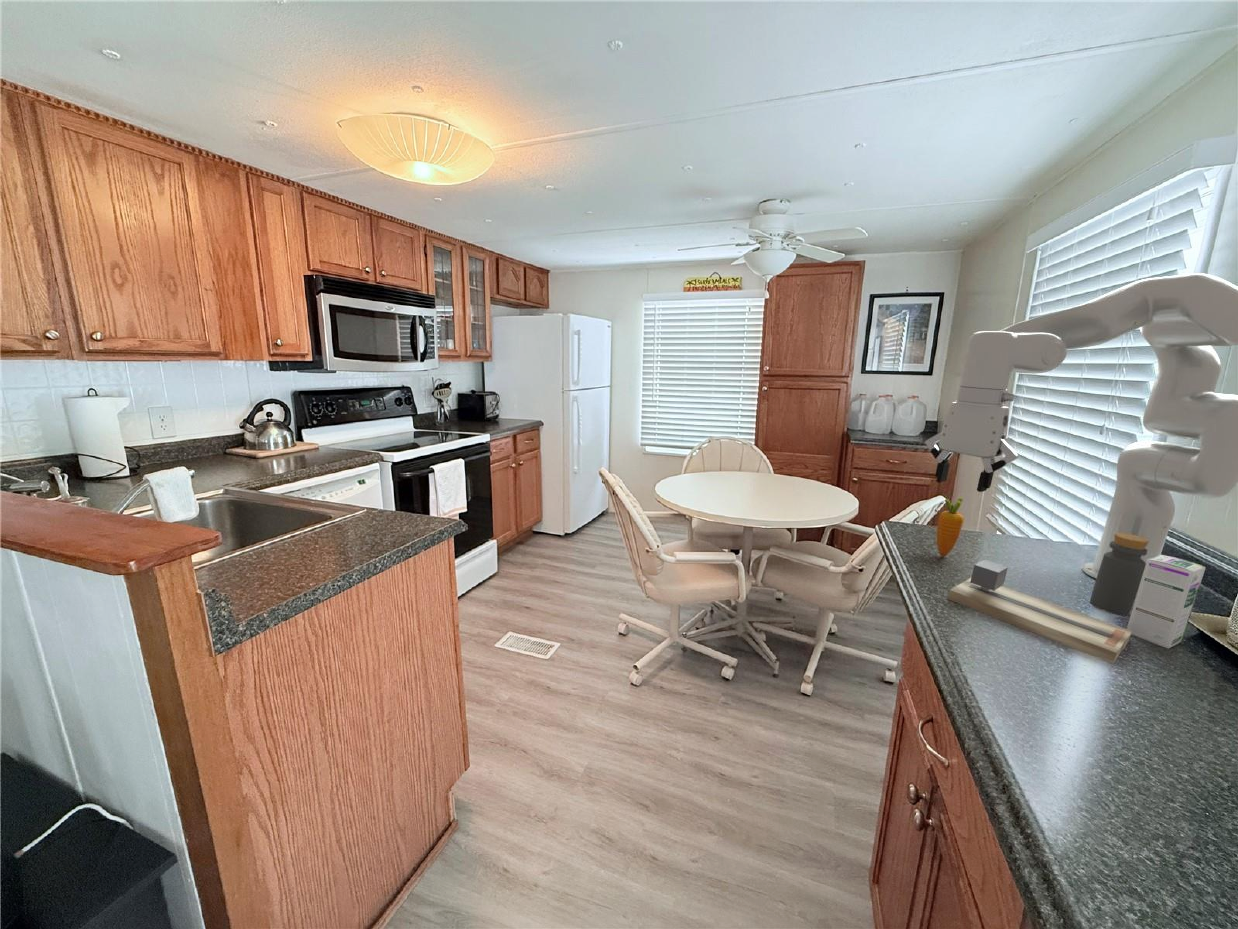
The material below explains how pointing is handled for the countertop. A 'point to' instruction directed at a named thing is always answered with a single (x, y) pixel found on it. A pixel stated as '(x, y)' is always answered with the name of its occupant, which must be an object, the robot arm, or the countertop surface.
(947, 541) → the carrot
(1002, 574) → the fader knob
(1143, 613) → the syrup box
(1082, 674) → the countertop surface
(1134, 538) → the bottle
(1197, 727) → the countertop surface
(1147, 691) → the countertop surface
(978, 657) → the countertop surface
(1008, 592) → the fader board
